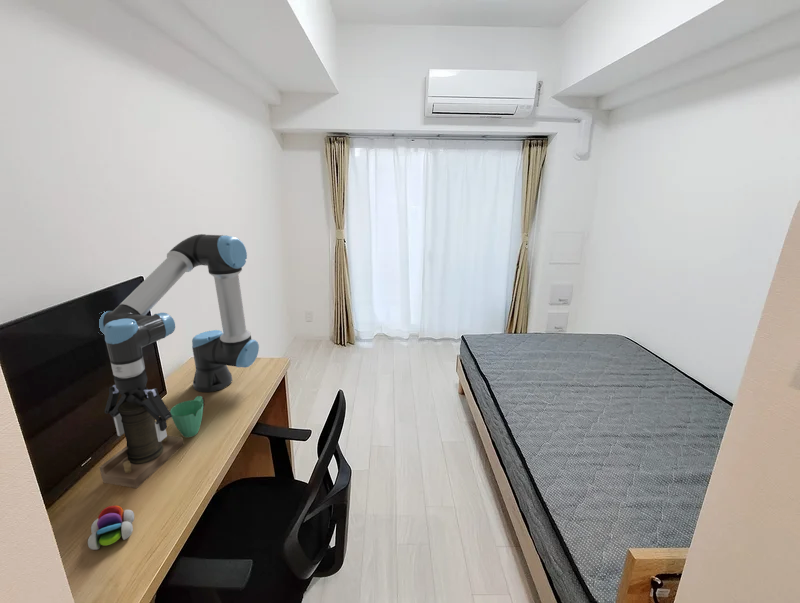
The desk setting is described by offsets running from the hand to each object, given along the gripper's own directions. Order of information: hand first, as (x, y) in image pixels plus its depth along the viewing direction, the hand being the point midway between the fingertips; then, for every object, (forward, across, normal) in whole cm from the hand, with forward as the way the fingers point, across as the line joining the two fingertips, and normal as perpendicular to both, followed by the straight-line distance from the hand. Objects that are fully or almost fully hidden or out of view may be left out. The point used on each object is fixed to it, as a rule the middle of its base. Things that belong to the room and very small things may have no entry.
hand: (142, 436), depth 114 cm
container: (+7, 0, 0) cm, 7 cm away
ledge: (+10, -1, 0) cm, 10 cm away
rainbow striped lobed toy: (+10, +11, -24) cm, 28 cm away
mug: (+10, +2, +18) cm, 21 cm away
